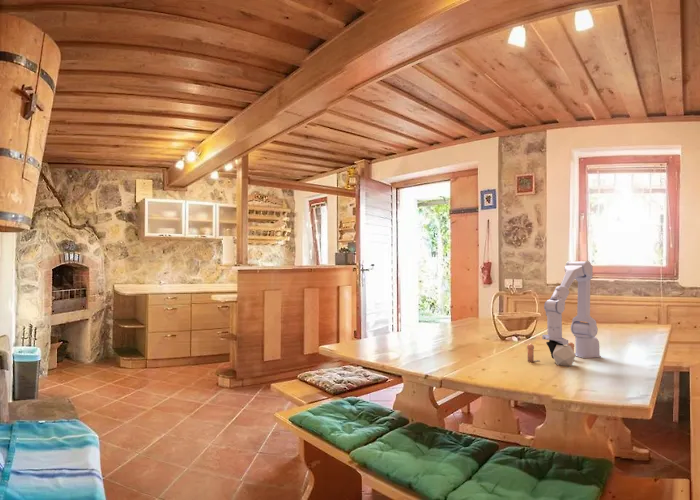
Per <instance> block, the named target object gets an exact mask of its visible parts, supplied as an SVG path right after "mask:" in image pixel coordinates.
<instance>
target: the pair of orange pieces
mask: <svg viewBox="0 0 700 500" xmlns="http://www.w3.org/2000/svg"><path fill="white" fill-rule="evenodd" d="M567 346H571V348H572V350H573V351H574V352H575V343H573V342H569V341H568V345H567ZM526 348H527V362H529V363H534V362H540V360H537V359H536V360H534V357H535V356H534V352H535V351H534V350H535V347H534V345H533V344H532V343H529V344H527V345H526Z"/></svg>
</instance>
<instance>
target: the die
mask: <svg viewBox="0 0 700 500" xmlns="http://www.w3.org/2000/svg"><path fill="white" fill-rule="evenodd" d="M575 353H576V352H575V350H574V351H573V350H572V348H571V346H567V345H556V347H555V349H554V352H553V358H554V359H553V358H552V359H553V360H554V362H555V364H556V365H557V366H563V367H572V365H573V363H574V361H575V358H576V356H575Z"/></svg>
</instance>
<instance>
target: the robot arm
mask: <svg viewBox="0 0 700 500" xmlns="http://www.w3.org/2000/svg"><path fill="white" fill-rule="evenodd" d="M593 267H594V266H593V265H592V263H591V262H590V261H588V260H586V261H584V260H583V261H577V260H576V261H571V260H570V261H569V260H568V261H566V264H565V265H564V276H563V277H562V280H561V283H560V285H557V286H556V287H555V289H554V290H553V293H552V295H551V297H550V298H549V299H547V300H546V301H545V302H544V305H543V309H544V311H545V316H546V320H547V321H546V324H547V328H546V329H547V334H542V335H541V338H542V340H547V341H545V342H546V345H547V347H548V349H549V351H550V354H551V358H552V359H553V360H554V358H553V352H554V349H555V347H556V345H568V343H569V340H568V339H566V338H564V337H563V319H562V318H563V315H562V314H563V313H564V312H565V309H566V307H565V306H566V301H567V298H568V296H569V294H570V290H569V289H570V287H571V285H572V284H573V283H574V282H575V280H576V282H577V305H576V306H577V309H576V310H577V312H576V313H577V314H576V316H574V317H573V318H572V319H571V325H570V332H571V333H572V334H573V337H574V338H575V341H574V342H575V343H574V345H575V352H574V353H575V357H578V358H583V359H588V358H589V359H590V358H593V359H594V358H602V356H601V354H600V352H601V351H600V341H599V339H598V338H597V337H596V336H597V335H598V331H599V330H598V325H597V320H596V319H595V318H593V317H592V316H591V280H592V279H593V272H594V271H593V270H594V269H593Z"/></svg>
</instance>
